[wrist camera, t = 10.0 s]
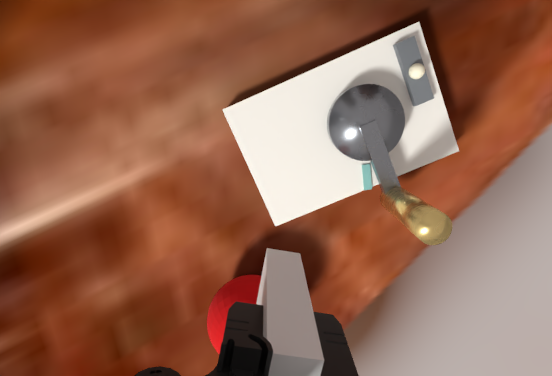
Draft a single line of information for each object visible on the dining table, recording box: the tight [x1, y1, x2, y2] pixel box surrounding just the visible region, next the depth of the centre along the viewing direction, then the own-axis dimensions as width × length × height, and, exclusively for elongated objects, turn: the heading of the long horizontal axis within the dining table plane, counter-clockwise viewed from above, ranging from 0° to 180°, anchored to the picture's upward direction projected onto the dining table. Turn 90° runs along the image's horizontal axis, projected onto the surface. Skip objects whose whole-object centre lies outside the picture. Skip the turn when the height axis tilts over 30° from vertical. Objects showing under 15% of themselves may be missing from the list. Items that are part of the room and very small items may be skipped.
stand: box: [223, 22, 459, 226], centre depth 34 cm, size 13×20×4 cm, turn 113°
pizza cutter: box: [327, 84, 452, 245], centre depth 29 cm, size 13×7×10 cm, turn 24°
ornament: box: [207, 275, 261, 354], centre depth 35 cm, size 9×9×10 cm
